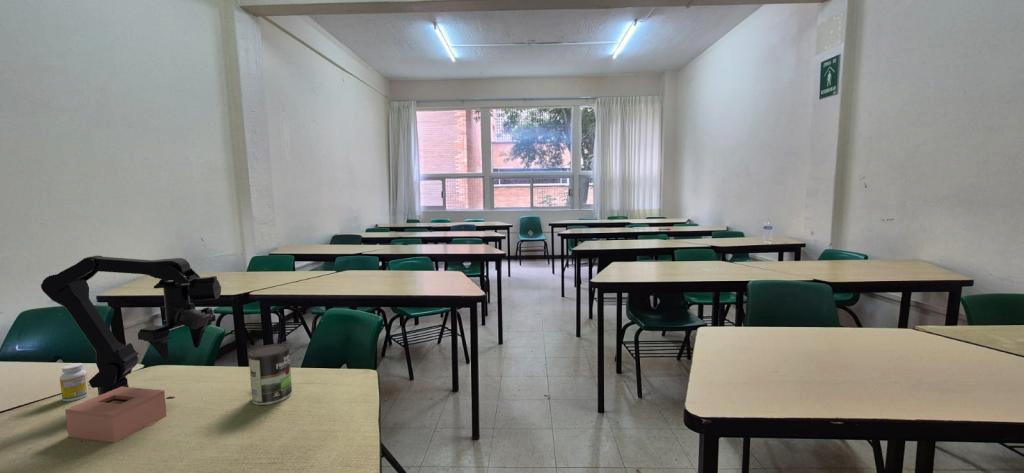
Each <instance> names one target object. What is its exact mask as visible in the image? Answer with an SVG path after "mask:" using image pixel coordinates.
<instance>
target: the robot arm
mask: <svg viewBox="0 0 1024 473" xmlns="http://www.w3.org/2000/svg"><path fill="white" fill-rule="evenodd" d="M99 272H102V273H117V274H133V275H135V274H136V275H145V276H149V277H151V278H154V279H159V281H158V283H156V284H155V285H154V286H153V289H163V299H164V306H161V309H160V310H161V311H165V312H164V313H165V319H164V320H162V324H163V325H151V326H146V327H144V328H141V329H140V330H139V331H137V340H141V341H143V342H148V343H149V344H150V345H151V346H152V347H153V348H154V349H155V350H156V351H157V353H158V354H159V355H160V357H161V358H162V359H163V360H166V361H167V360H169V345H168V344H169V343H168V342H169V340H170V339H171V336H169V335H170V332H172V331H175V330H178V329H181V328H185V327H187V328H188V329H189V333H190V337H191V340H192V344H193V347H194V348H195V349H198V348H199V347H200V344H201V342H202V338H203V335H204V332H206V329H207V328H208V327H209V326H211V325H213V322H216V320H217V318H216V314H215V313H214V310H213V308H212V307H209V306H207V307H204V308H202V309H201V308H200V309H196V307H195V306H196V305H195V303H194V302H193V303H192V302H191V299H192V300H193V301H206V300H217V299H219V298H220V297H221V293H222V286H221V284H220V281H219V280H218V276H216V275H215V276H214V275H213V276H212V275H211V276H209V277H208V276H207V277H205V276H204V277H201V276H200V275H199V274H198V273H197V272H196V271H195V270H194V269H193V268H192V267H191V265H190V262H188V260H187V259H185V258H183V257H174V258H173V257H172V258H164V259H163V258H161V259H151V260H150V259H138V258H137V259H136V258H125V257H110V256H103V255H92V256H87V257H84V258H82V259H81V260H80V261H79V262H76V263H75V264H73V265H72V266H70V267H67V268H66V269H64V270H62V271H61V272H58V273H57V274H56V273H55V274H51V275H48V276H47V277H45V278H44V279H43V280H42V283H41V284H40V288H41V291H42V292H43V293H44V294H45V295H46V296H47V297H48V298H49V299H50V300H51V301H53V302H55V303H56V304H58V305H60V306H62V307H64V308H65V309H66V310H67V311H68V313H69V314H70V316H71V318H72V319H73V320H74V322H75V323H76V325H77V326H78V328H79V329H80V331H81V332H82V333H83V335H84V337H85V338H86V340H87V341H88V343H89V344H90V345H91V347H92V348H93V349H94V352H95V364H96V367H97V369H98V371H97V372H96V374H94V376H92V377H91V378H90V379H89V380H88V385H90V387H91V388H92V389H94V388H97V396H99V395H102V394H104V393H107V392H109V391H112V390H114V389H117V388H119V387H129V383H128V381H129V380H128V378H127V377H126V376H128V375H130V374H132V371H133V369H134V368H135V367H136V366H137V364H138V362H139V354H140V353H139V352H137V351H136V350H135V348H134V346H133V344H132V343H130V342H128V343H127V344H123V343H122V342H120V341H118V340H117V338H116V336H115V335H114V333H113V332H112V330H111V329H110V327H109V326H108V324H107V323H106V322H105V320H104V318H103V317H102V316H101V314H100V313H99V311H98V310H97V308H96V306H95V305H94V303H93V302H92V301H91V299H90V287H89V285H88V280H90V279H92V278H93V277H94V276H95V275H96V274H98V273H99Z"/></svg>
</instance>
